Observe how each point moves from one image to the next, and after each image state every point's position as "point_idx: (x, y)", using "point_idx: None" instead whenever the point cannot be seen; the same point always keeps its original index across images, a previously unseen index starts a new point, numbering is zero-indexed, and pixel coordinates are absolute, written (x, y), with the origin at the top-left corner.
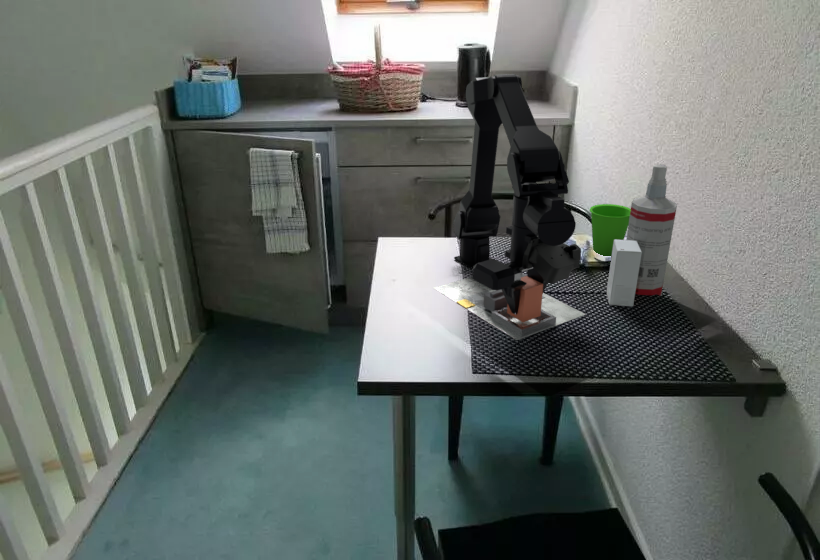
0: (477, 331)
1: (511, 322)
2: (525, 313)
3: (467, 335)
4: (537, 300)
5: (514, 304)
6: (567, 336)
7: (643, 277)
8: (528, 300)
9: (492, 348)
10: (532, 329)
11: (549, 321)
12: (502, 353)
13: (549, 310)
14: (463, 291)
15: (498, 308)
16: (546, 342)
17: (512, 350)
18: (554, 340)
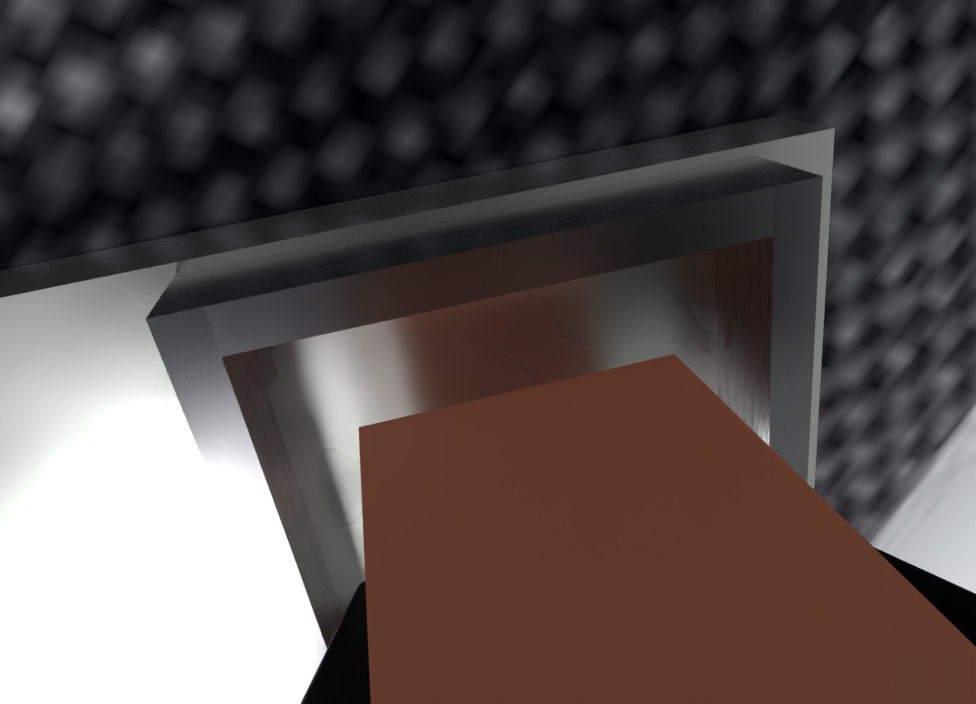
0: (844, 497)
1: (795, 391)
2: (697, 420)
3: (945, 465)
4: (496, 597)
5: (918, 577)
6: (74, 103)
7: None
8: (772, 585)
9: (944, 208)
10: (609, 202)
11: (294, 278)
12: (941, 83)
13: (76, 599)
14: None
15: None
16: (411, 85)
17: (829, 93)
18: (293, 85)
